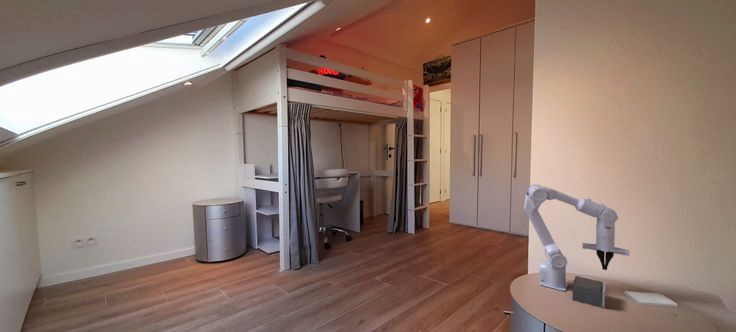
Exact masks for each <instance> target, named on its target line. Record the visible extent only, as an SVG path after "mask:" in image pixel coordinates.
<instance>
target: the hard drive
mask: <svg viewBox="0 0 736 332" xmlns="http://www.w3.org/2000/svg"><path fill="white" fill-rule="evenodd" d="M624 293H625V294H626V295H628V296H629V297H630V298H631V301H633V302H634V301H635V302H634V303H636V304H637V305H640V306H641V305H643V306H655V307H656V306H657V307H658V306H659V307H675V308H678V303H676V302H675V301H673V300H672V299H670V298H669V297H667V296H666V295H664V294H662V293H659V292H658V293H657V292H645V291H643V292H642V291H628V290H627V291H626V290H623V293H622V294H624ZM625 294H624V295H625ZM626 295H625V296H626ZM628 296H627V297H628ZM629 297H628V298H629ZM630 298H629V299H630Z"/></svg>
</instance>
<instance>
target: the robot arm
mask: <svg viewBox="0 0 736 332" xmlns="http://www.w3.org/2000/svg"><path fill="white" fill-rule="evenodd" d="M546 200H548V201H552V200H557V201H559V202H563V203H565V204H568V205H571V206H573V207H574V208H575V210H576V211H577V212H580V213H583V214H584V215H587V216H590V217H591V218H592V217H593V218H596V225H595V226H596V228H595V234H596V235H595V238H596V239H595V243H586V242H582V247H581V248H582V249H583V250H592V251H596V252H595V253H596V255H597V257H598V259H599V261H600V264H601V267H602V270H604V271H607V270H608V267H609V263H610V262H611V260H612V259H613V258H614V255H615V254H616V255H622V256H625V257H630V250H629V249H625V248H620V247H616V246H615V242H616V241H615V240H616V237H615V236H616V235H615V233H616V226H615V225H616V224H615V223H616V222H617V220H618V219H619V216H618V215H617V212H616V211H615V210H614V209H612V208H610V207H608V206H606V205H605V204H604V203H597V202H595V201H593V200H592V199H591V198H588V197H586V198H583V197H582V198H576V197H573V196H571V195H568V194H566V193H564V192H562V191H558V190H556V189H554V188H551V187H547V186H541V185H540V184H532V185H530V186H529V187H528V188H527V190H526V192H525V199H524V204H523V209H524V210H525V212H526V215H527V216H528V219H529V220H530V223H531V224H532V226H533V228H534V230H535V232H536V234H537V236H538V237H539V240H540V242H541V244H542V246H543V248H544V255H545V257H546V258H547V259H546V260H545V262H543V261H542V262H540V264H539V273H538V274H539V277H538V279H539V283H538V285H539V286H544V287H547V288H552V289H554V290H557V291H562V292H566V290H567V289H568V285H569V283H568V282H567V279H566V277H567V275H566V274H567V271H566V270H567V267H566V266H567V264H568V258H566V256H565V255H564V254H563V253H562V251H561V250H560V248H558V246H557V244H556V243H555V240H554V238H553V237H552V235H551V233H550V231H549V229H548V226H547V225H546V223H545V221H544V219H543V217H542V215H541V214H540V212H539V209H540V206H541V205H542V204H543V203H544V202H546Z"/></svg>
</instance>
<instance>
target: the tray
mask: <svg viewBox="0 0 736 332" xmlns="http://www.w3.org/2000/svg"><path fill="white" fill-rule="evenodd" d="M606 286H607V283H606V282H605V281H604V282H603V291H602V295H601V308H605V305H606V296H607V294H606V291H607V287H606Z"/></svg>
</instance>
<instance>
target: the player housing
mask: <svg viewBox="0 0 736 332" xmlns="http://www.w3.org/2000/svg"><path fill="white" fill-rule="evenodd" d="M603 284H604V282H603V281H600V280H596V279H591V278H586V277H582V276H578V275H575V276H574V280H573V283H572V291H571V292H572V294H571V295H572V297H571V298H572V301H575V302H579V303H581V304H587V305H590V306H594V307H596V306H597V308H600V307H601V308H602V306H601V295H602V291H603Z"/></svg>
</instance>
